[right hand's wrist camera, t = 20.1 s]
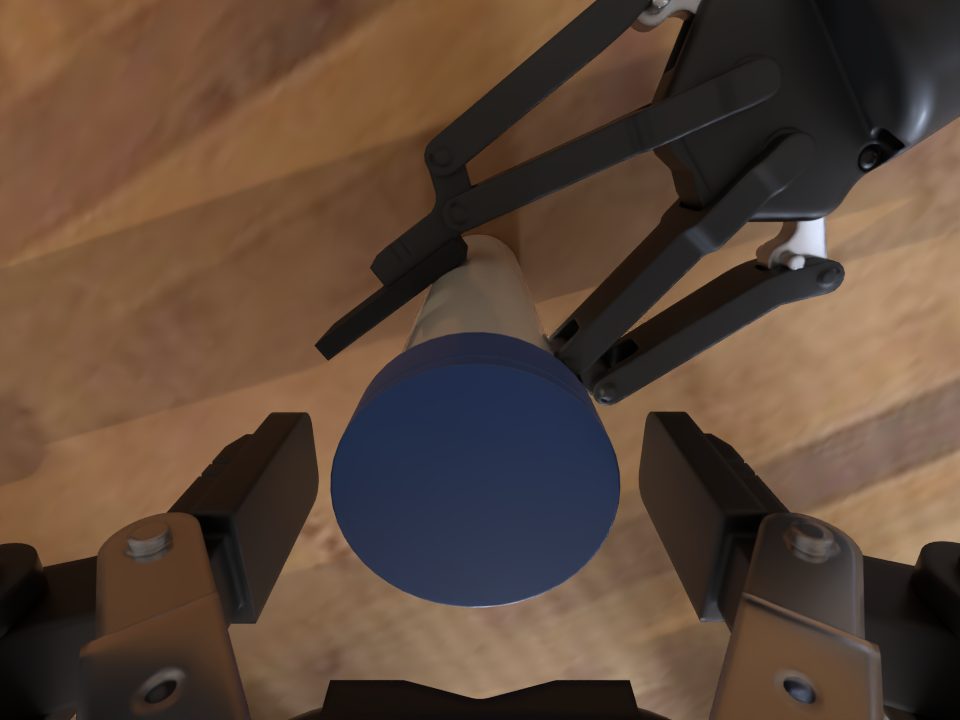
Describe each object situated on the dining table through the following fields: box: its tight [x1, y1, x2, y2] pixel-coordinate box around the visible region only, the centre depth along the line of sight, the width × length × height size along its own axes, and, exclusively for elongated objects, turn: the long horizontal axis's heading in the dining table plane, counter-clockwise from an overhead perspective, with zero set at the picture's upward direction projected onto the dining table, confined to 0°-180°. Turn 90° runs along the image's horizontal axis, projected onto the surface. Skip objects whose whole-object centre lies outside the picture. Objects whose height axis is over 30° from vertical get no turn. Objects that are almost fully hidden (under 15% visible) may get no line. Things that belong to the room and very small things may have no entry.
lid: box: [331, 332, 620, 607], centre depth 10 cm, size 5×5×2 cm
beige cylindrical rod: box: [401, 234, 554, 356], centre depth 18 cm, size 4×4×18 cm
